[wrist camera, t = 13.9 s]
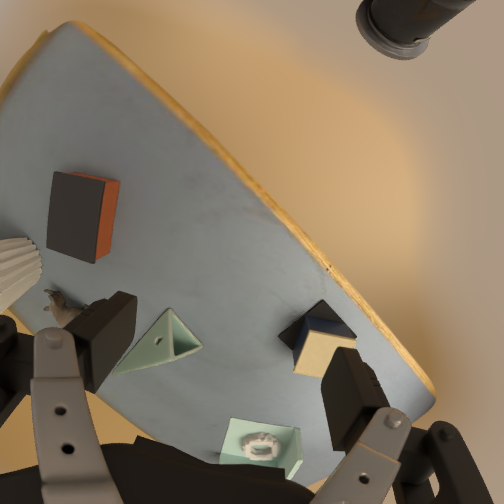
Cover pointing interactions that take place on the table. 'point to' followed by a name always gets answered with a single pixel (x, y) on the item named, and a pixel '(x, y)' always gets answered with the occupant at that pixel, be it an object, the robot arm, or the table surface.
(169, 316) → the planter
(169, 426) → the table surface
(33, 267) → the vase
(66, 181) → the bottom container
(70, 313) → the rhino figurine
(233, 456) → the right angle wall
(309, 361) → the top container
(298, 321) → the mat
